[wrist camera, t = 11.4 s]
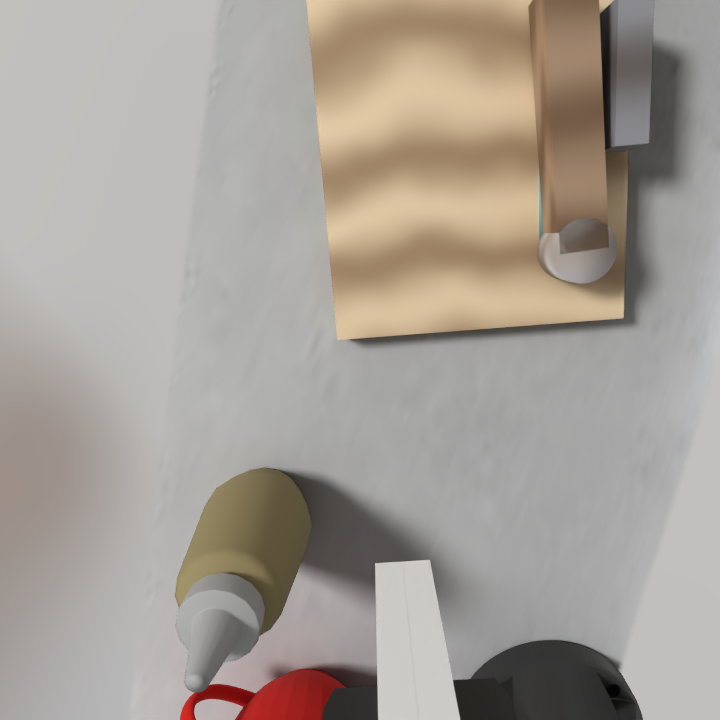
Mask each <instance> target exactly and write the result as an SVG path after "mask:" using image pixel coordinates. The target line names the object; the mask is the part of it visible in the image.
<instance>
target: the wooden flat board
mask: <svg viewBox="0 0 720 720" xmlns="http://www.w3.org/2000/svg"><path fill="white" fill-rule="evenodd" d="M306 1H307V12H308V23H309V34H310V45H311V56H312V67H313V78H314V89H315V100H316V111H317V122H318V133H319V144H320V155H321V166H322V177H323V188H324V199H325V210H326V221H327V232H328V243H329V254H330V265H331V276H332V287H333V298H334V309H335V320H336V331H337V340H344V339H358V338H371V337H384V336H397V335H410V334H423V333H437V332H450V331H463V330H476V329H489V328H502V327H516V326H529V325H542V324H555V323H568V322H581V321H594V320H608V319H621V318H624V288H625V255H626V221H627V187H628V154H629V150H630V149H633V148H636V147H639V146H642V145H645V144H649V130H650V103H651V77H652V50H653V24H654V0H599V11H600V36H601V61H602V86H603V111H604V135H605V160H606V185H607V210H608V226H609V227H610V228H611V230H612V231H613V233H614V235H615V237H616V241H617V254H616V258H615V261H614V263H613V265H612V267H611V268H610V269H609V271H608V272H607V273H606V274H605V275H604V276H602V277H601V278H599V279H597V280H595V281H593V282H590V283H583V284H580V283H573V282H569V281H564V280H560V279H556V278H553V277H551V276H550V275H548V274H547V273H546V272H545V271H544V270H543V269H542V267H541V266H540V264H539V261H538V257H537V247H538V243H539V240H540V238H541V236H542V234H543V221H542V206H541V191H540V176H539V161H538V146H537V131H536V116H535V101H534V86H533V71H532V56H531V40H530V25H529V10H528V6H529V5H530V3H531V2H532V0H306Z"/></svg>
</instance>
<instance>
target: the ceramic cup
mask: <svg viewBox="0 0 720 720" xmlns="http://www.w3.org/2000/svg"><path fill="white" fill-rule="evenodd" d="M334 688H346V687H345V686H344V685H342V684H341V683H340V682H339V681H337V680H336V679H335V678H334V677H332V676H331V675H329V674H327V673H325V672H322V671H319V670H314V669H300V670H295V671H293V672H290V673H288V674H286V675H283V676H281V677H279V678H277V679H275V680H273V681H271V682H270V683H268V684H267V685H265V686H264V687H263V688H262V689H260V690H259V691H258V692H257V693H253V692H250V691H247V690H244V689H241V688H237V687H233V686H229V685H223V684H212V685H208V687H207V688H206V689H205V690H204V691H202V692H195V693H194V694H193V695H191V696H190V697H189V699H188V700H187V701H186V703H185V705H184V707H183V709H182V712H181V717H180V720H196V718H195V715H194V707H195V705H196V704H197V703H198V702H200V701H202V700H205V699H220V700H225V701H229V702H233V703H236V704H238V705H240V706H243V709H242V710H241V712H240V713H239V714H238V716H237V717H236V719H235V720H322V714H323V708H324V706H325V704H326V703H327V701H328V699H329V697H330V695H331V693H332V692H333V690H334Z"/></svg>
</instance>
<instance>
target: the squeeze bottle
mask: <svg viewBox="0 0 720 720" xmlns="http://www.w3.org/2000/svg"><path fill="white" fill-rule="evenodd" d="M311 527H312V522H311V518H310V514H309V510H308V506H307V504H306V502H305V500H304V497H303V495H302V493H301V491H300V489H299V488H298V486H297V485H296V484H295V483H294V481H293V480H292V479H291V478H290V477H289V476H287V475H285V474H284V473H282V472H280V471H279V470H274V469H268V468H260V469H255V470H250V471H247V472H245V473H243V474H240V475H238V476H236V477H233V478H232V479H230V480H229V481H227V482H225V483H224V484H222V485H221V486H219V487H218V488H216V489H215V491H214V492H213V494H212V496H211V497H210V499H209V500H208V502H207V503H206V505H205V507H204V510H203V512H202V515H201V517H200V520H199V523H198V525H197V528H196V530H195V533H194V535H193V538H192V541H191V543H190V546H189V548H188V551H187V554H186V556H185V559H184V561H183V564H182V566H181V569H180V572H179V574H178V577H177V584H176V592H175V597H176V600H177V603H178V607H179V609H178V611H177V617H176V624H175V627H176V630H177V633H178V636H179V639H180V641H181V642H182V643H183V645H184V646H185V647H186V648H187V649H188V650H189V652H188V659H187V665H186V672H185V678H184V684H185V686H186V687H187V689H188V690H190V691H192V692H202V691H204V690H205V689H206V688H207V687H208V685H209V684H210V682H211V681H212V679H213V678H214V676H215V675H216V673H217V672H218V670H219V669H220V667H221V665H222V664H223V662H228V661H234V660H237V659H239V658H241V657H243V656H244V655H246V654H248V653H249V652H250V651H251V650H252V648H253V647H254V645H255V644H256V643H257V641H258V639H259V636H260V635H262V634H263V633H265V632H267V631H268V630H270V629H271V628H272V626H273V625H274V623H275V622H276V621H277V619H278V618H279V616H280V615H281V613H282V611H283V608H284V606H285V603H286V600H287V598H288V595H289V593H290V590H291V587H292V585H293V582H294V580H295V577H296V574H297V572H298V569H299V567H300V564H301V561H302V559H303V556H304V554H305V551H306V548H307V546H308V543H309V538H310V533H311Z"/></svg>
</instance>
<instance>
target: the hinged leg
mask: <svg viewBox="0 0 720 720" xmlns="http://www.w3.org/2000/svg"><path fill="white" fill-rule="evenodd" d="M528 10H529V25H530V40H531V56H532V71H533V86H534V101H535V116H536V131H537V146H538V161H539V176H540V191H541V206H542V221H543V234H542V236H541V238H540V240H539V243H538V247H537V257H538V261H539V264H540V266H541V267H542V269H543V270H544V271H545V272H546V273H547V274H548V275H550V276H551V277H553V278H556V279H560V280H564V281H569V282H573V283H580V284H583V283H590V282H593V281H595V280H597V279H599V278H601V277H602V276H604V275H605V274H606V273H607V272H608V271H609V269H610V268H611V267H612V265H613V263H614V261H615V258H616V254H617V241H616V237H615V235H614V233H613V231H612V230H611V228H610V227H609V226H608V210H607V185H606V160H605V135H604V111H603V86H602V61H601V36H600V11H599V0H532V2H531V3H530V5H529V6H528Z"/></svg>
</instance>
